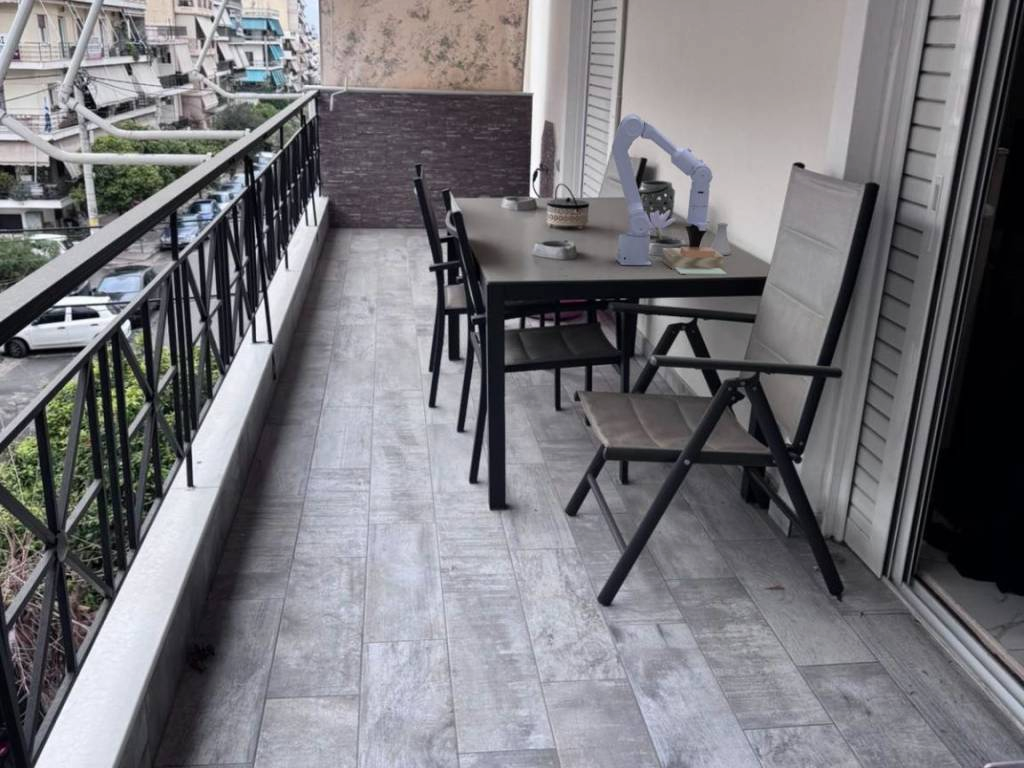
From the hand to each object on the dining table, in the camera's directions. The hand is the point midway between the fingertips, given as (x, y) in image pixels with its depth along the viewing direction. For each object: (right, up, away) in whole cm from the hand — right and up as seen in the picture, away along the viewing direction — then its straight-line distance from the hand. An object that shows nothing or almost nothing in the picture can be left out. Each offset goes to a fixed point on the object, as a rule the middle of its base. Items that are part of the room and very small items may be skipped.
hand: (694, 250), depth 281 cm
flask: (+12, +2, +20) cm, 24 cm away
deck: (0, -4, +2) cm, 5 cm away
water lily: (-5, +11, +44) cm, 46 cm away
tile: (0, -2, -4) cm, 4 cm away
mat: (+1, -8, -7) cm, 10 cm away
